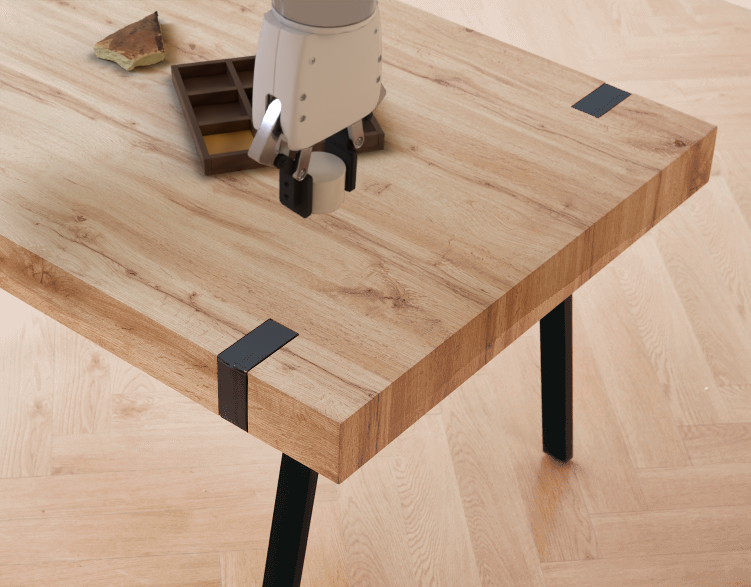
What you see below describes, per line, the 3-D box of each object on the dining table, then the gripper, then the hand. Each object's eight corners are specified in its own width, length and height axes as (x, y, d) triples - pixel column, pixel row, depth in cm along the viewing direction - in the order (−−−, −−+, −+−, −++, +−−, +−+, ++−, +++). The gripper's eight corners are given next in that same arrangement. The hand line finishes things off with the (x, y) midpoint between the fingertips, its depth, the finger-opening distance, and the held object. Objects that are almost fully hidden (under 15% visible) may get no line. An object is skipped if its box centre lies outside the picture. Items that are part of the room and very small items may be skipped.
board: (205, 175, 108) (203, 159, 107) (171, 80, 122) (170, 65, 120) (383, 149, 113) (384, 133, 112) (333, 61, 127) (333, 45, 125)
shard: (157, 21, 132) (156, 8, 131) (204, 41, 129) (203, 27, 127) (92, 55, 125) (90, 41, 124) (140, 77, 122) (138, 63, 121)
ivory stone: (298, 218, 87) (299, 186, 85) (285, 186, 90) (285, 155, 88) (350, 210, 88) (352, 179, 86) (335, 179, 91) (337, 148, 89)
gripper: (365, -59, 83) (354, 139, 95) (198, 8, 73) (209, 219, 86) (440, -26, 80) (418, 175, 92) (275, 50, 70) (275, 263, 82)
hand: (317, 194), depth 89 cm, fingers closed on ivory stone, 4 cm apart
